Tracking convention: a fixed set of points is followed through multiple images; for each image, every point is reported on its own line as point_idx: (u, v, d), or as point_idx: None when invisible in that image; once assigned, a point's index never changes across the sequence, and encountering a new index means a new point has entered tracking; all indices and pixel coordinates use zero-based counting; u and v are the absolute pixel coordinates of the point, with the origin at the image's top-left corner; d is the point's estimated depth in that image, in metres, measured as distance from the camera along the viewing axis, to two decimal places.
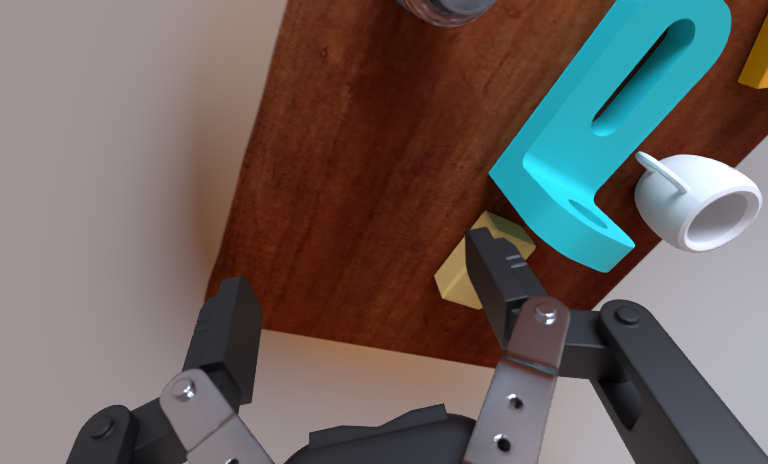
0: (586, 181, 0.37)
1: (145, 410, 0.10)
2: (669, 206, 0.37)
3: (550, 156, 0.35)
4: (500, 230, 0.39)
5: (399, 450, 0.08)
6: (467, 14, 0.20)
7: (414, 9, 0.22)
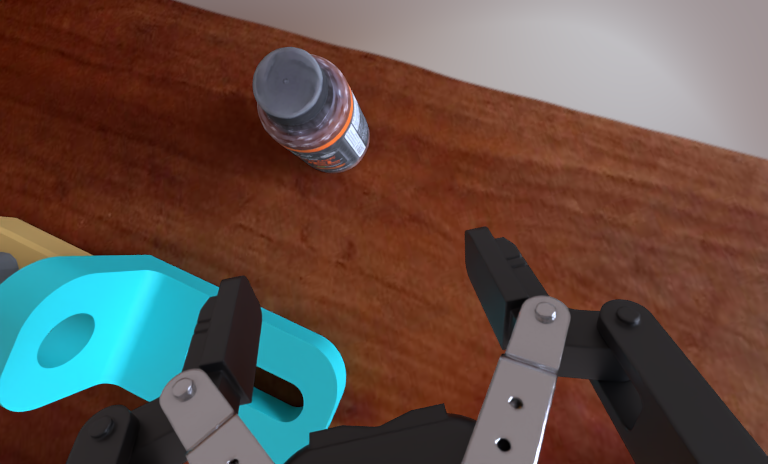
0: (131, 365, 0.31)
1: (145, 410, 0.10)
2: None
3: (161, 306, 0.31)
4: None
5: (399, 450, 0.08)
6: (253, 87, 0.22)
7: None
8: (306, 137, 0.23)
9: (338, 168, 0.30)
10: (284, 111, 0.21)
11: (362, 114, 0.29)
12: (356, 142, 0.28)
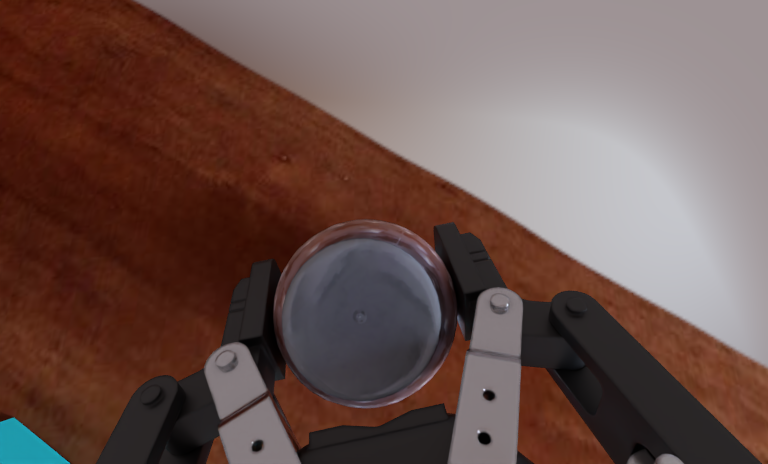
0: None
1: (189, 382, 0.11)
2: None
3: None
4: None
5: (399, 450, 0.08)
6: (284, 308, 0.10)
7: None
8: None
9: None
10: (342, 386, 0.09)
11: None
12: None
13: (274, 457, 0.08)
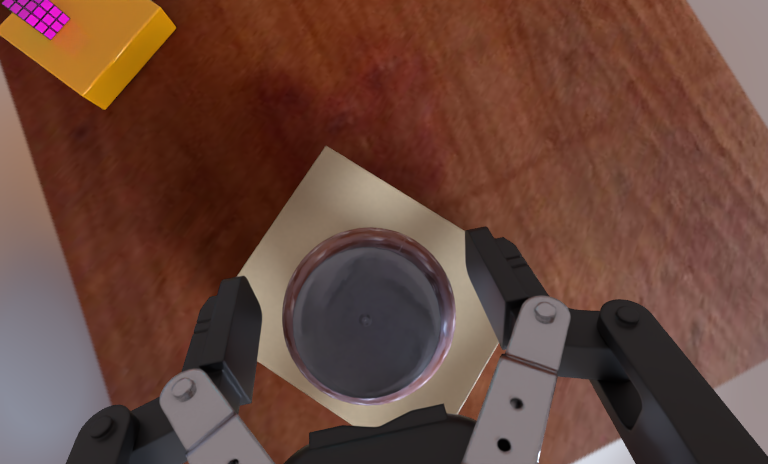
0: None
1: (145, 410, 0.10)
2: None
3: None
4: None
5: (399, 450, 0.08)
6: (294, 312, 0.10)
7: None
8: None
9: None
10: (349, 385, 0.10)
11: None
12: None
13: None
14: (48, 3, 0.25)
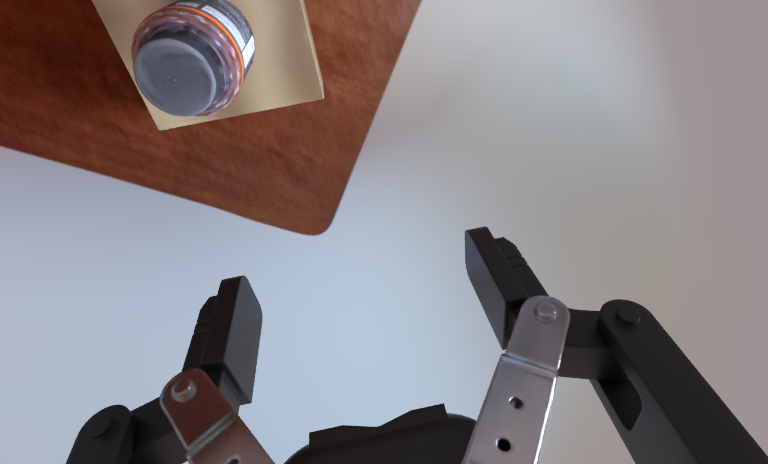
0: None
1: (145, 410, 0.10)
2: None
3: None
4: None
5: (399, 450, 0.08)
6: (150, 101, 0.21)
7: (131, 56, 0.22)
8: (222, 102, 0.24)
9: None
10: (197, 108, 0.22)
11: (231, 12, 0.26)
12: (249, 50, 0.27)
13: None
14: None
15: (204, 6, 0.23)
